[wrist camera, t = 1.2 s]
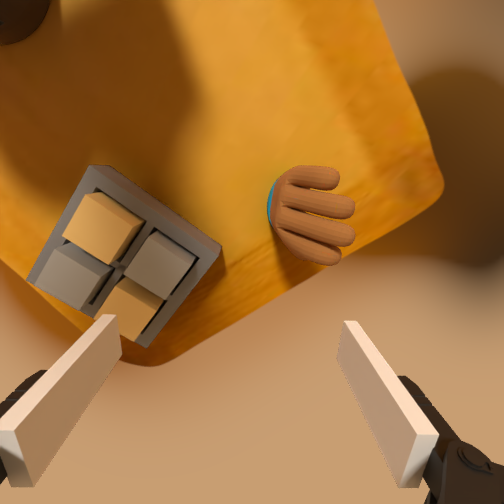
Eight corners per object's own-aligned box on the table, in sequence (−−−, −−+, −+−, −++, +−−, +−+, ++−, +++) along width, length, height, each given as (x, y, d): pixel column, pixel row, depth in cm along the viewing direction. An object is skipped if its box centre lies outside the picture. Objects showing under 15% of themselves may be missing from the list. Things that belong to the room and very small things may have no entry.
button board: (50, 267, 38) (25, 280, 33) (109, 165, 33) (89, 164, 29) (156, 330, 42) (146, 348, 37) (221, 245, 37) (218, 255, 33)
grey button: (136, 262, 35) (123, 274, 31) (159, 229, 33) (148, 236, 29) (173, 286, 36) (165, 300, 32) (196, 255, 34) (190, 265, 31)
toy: (305, 253, 38) (341, 303, 24) (260, 247, 38) (268, 295, 23) (323, 170, 34) (378, 171, 20) (273, 163, 34) (293, 158, 20)
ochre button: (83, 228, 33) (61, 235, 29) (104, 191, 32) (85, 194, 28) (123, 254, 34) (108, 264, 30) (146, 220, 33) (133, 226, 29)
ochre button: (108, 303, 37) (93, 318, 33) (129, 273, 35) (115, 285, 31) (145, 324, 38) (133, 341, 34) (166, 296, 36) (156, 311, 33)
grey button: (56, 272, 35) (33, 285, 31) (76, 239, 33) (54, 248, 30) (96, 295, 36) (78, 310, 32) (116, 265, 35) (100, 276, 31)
